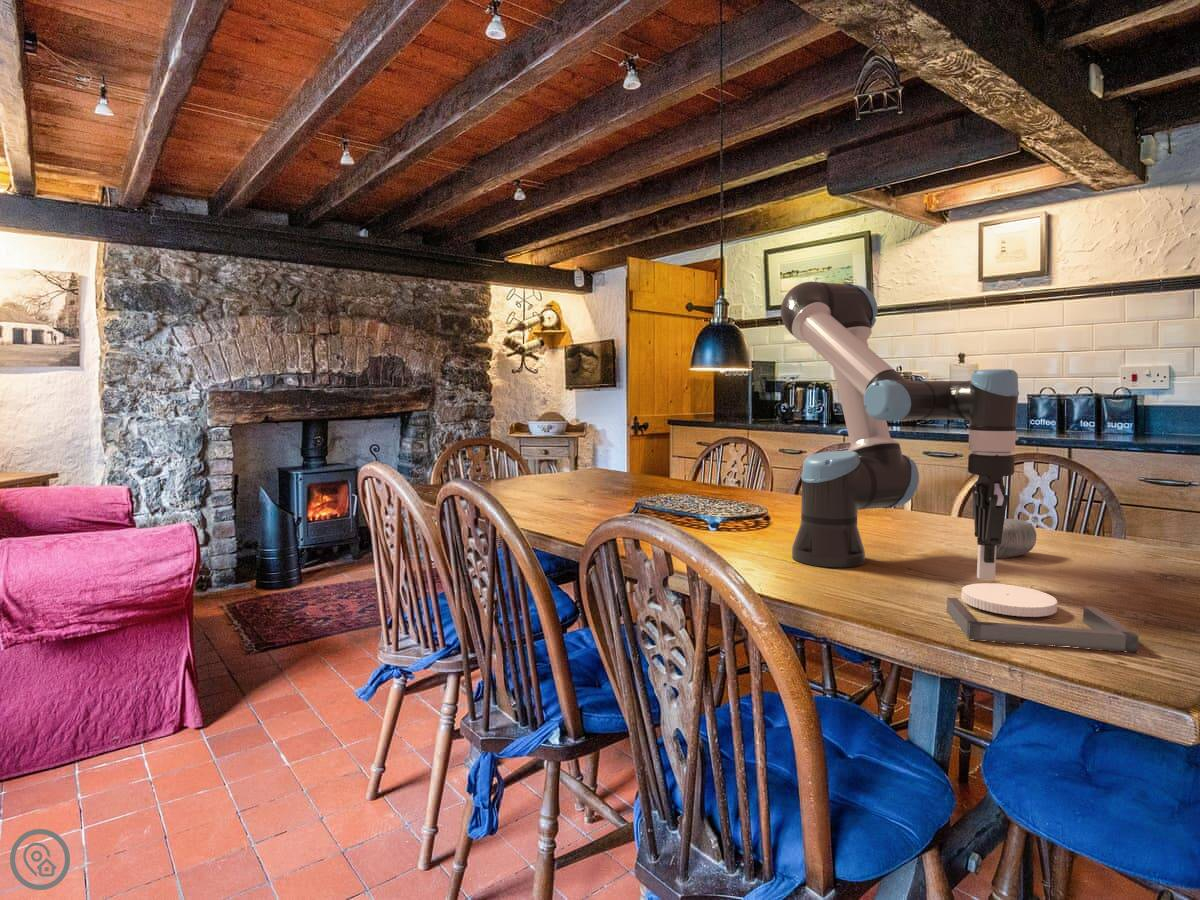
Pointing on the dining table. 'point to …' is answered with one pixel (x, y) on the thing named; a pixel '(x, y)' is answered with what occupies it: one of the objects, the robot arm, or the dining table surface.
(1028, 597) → the plastic lid
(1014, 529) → the grey yarn skein
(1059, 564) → the dining table surface
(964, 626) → the bracket
